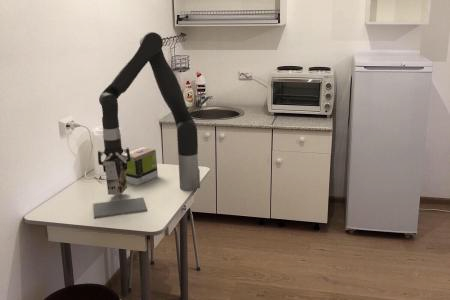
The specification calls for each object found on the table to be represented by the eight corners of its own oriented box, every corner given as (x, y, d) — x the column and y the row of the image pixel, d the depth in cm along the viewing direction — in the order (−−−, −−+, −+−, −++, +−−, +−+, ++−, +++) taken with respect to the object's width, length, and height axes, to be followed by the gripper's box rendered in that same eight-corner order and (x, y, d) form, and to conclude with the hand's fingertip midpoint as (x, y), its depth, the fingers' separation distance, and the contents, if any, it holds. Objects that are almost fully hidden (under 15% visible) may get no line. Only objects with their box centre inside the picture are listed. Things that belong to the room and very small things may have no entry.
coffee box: (121, 195, 219) (117, 161, 214) (107, 194, 220) (103, 161, 215) (127, 187, 228) (124, 154, 223) (114, 187, 229) (111, 154, 224)
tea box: (144, 173, 254) (142, 146, 250) (158, 176, 248) (156, 149, 244) (122, 181, 242) (120, 153, 238) (137, 185, 237) (134, 157, 232)
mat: (143, 198, 221) (143, 197, 221) (147, 211, 208) (147, 209, 208) (93, 205, 215) (93, 203, 215) (94, 218, 202) (94, 216, 202)
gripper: (127, 133, 221) (130, 167, 226) (95, 136, 217) (99, 170, 222) (129, 137, 214) (132, 172, 219) (95, 141, 211) (100, 176, 215)
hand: (115, 171), depth 221 cm, fingers closed on coffee box, 8 cm apart
